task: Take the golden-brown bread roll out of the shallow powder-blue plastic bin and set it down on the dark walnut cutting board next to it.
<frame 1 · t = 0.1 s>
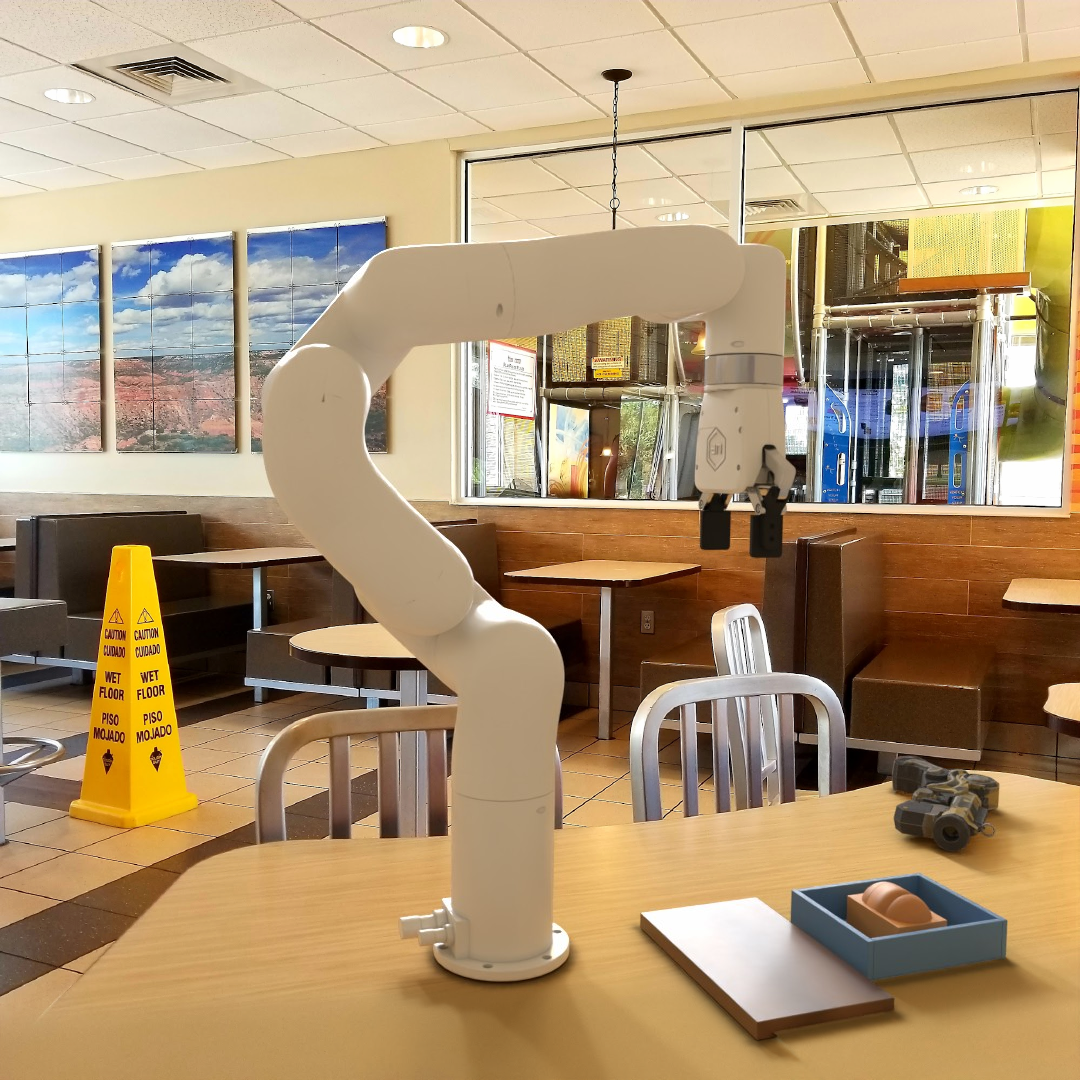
hand: (739, 553, 105), 37 cm above the table, tool pointing down, fingers open, 9 cm apart
bread: (894, 940, 102), resting on bin
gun: (938, 819, 140), on the table
bin: (894, 945, 102), on the table
board: (756, 967, 97), on the table
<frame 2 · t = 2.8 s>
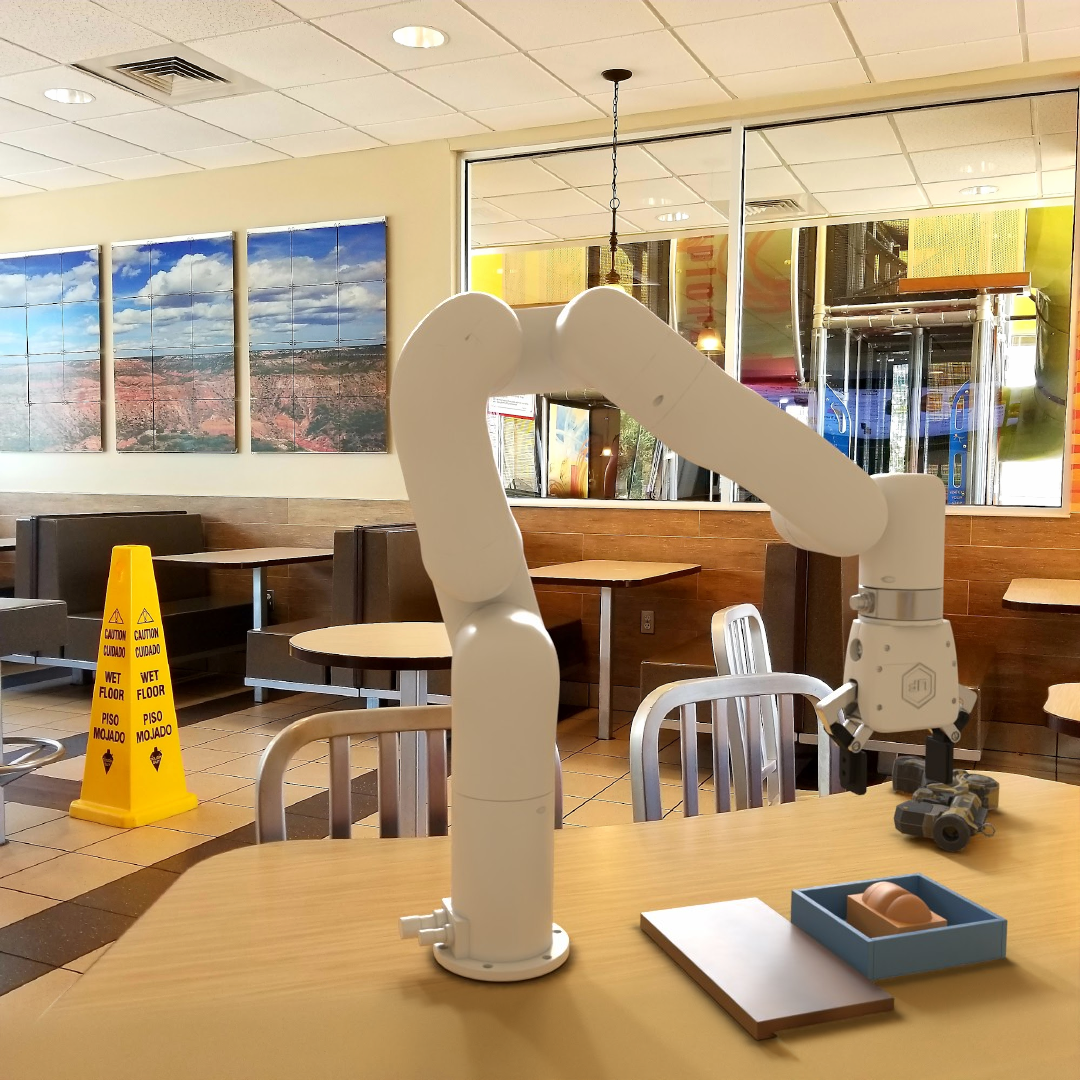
hand: (896, 785, 101), 15 cm above the table, tool pointing down, fingers open, 9 cm apart
nothing on the table moved.
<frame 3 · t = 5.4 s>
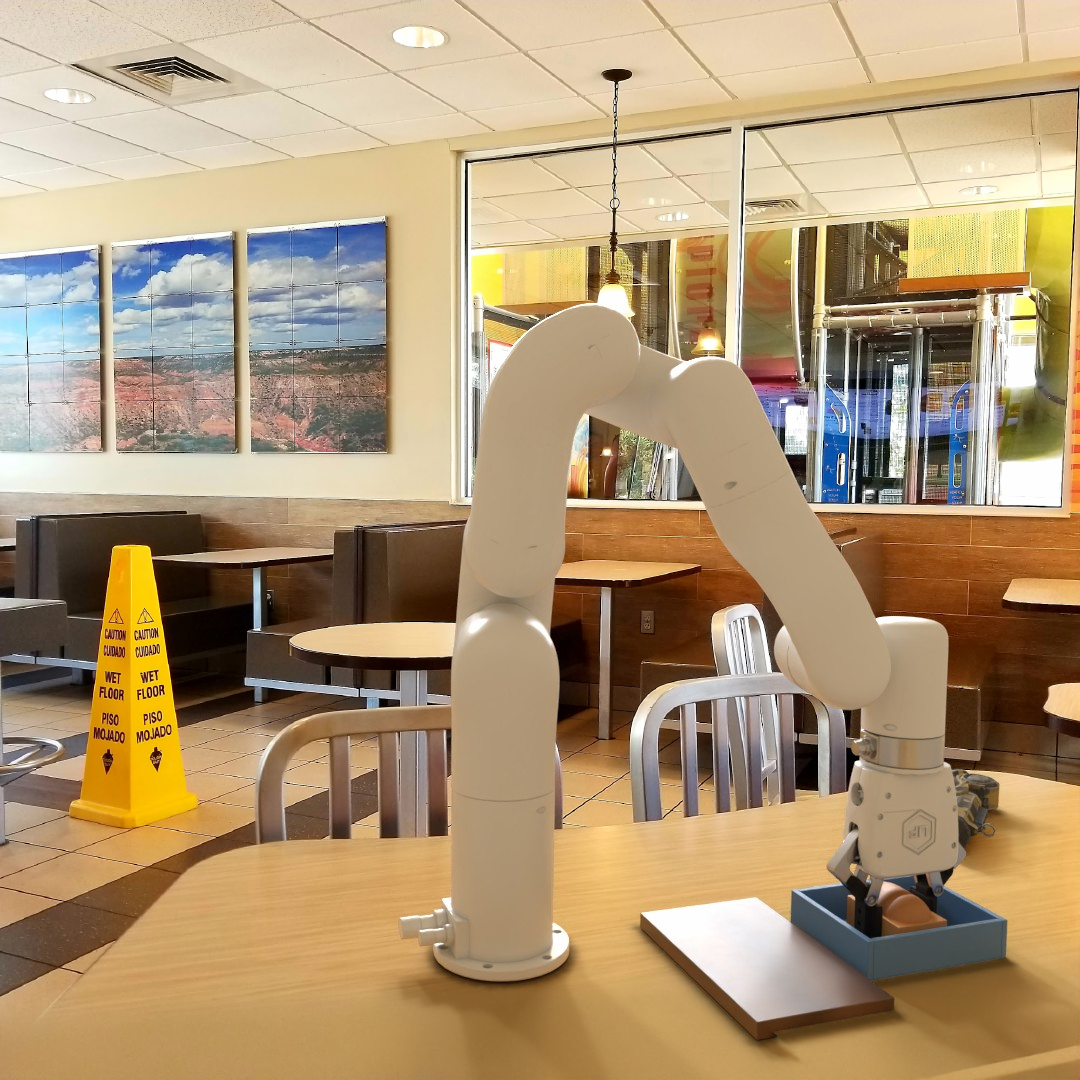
hand: (895, 935, 102), 1 cm above the table, tool pointing down, fingers closed on bread, 5 cm apart
bread: (894, 940, 102), resting on bin, touching gripper
everything else where it was.
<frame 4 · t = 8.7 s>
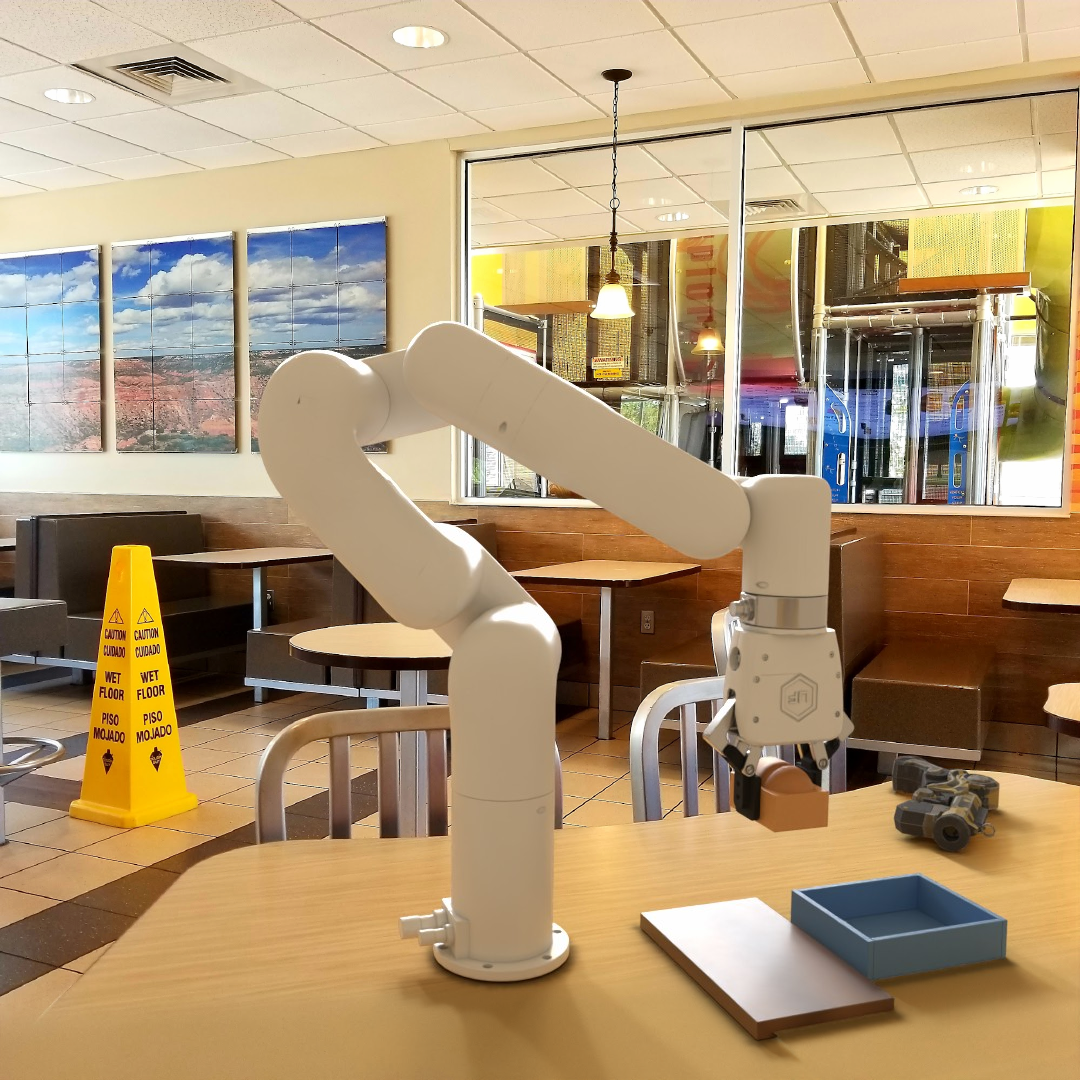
hand: (777, 810, 97), 14 cm above the table, tool pointing down, fingers closed on bread, 5 cm apart
bread: (777, 815, 97), point 14 cm above the table, touching gripper
everything else where it was.
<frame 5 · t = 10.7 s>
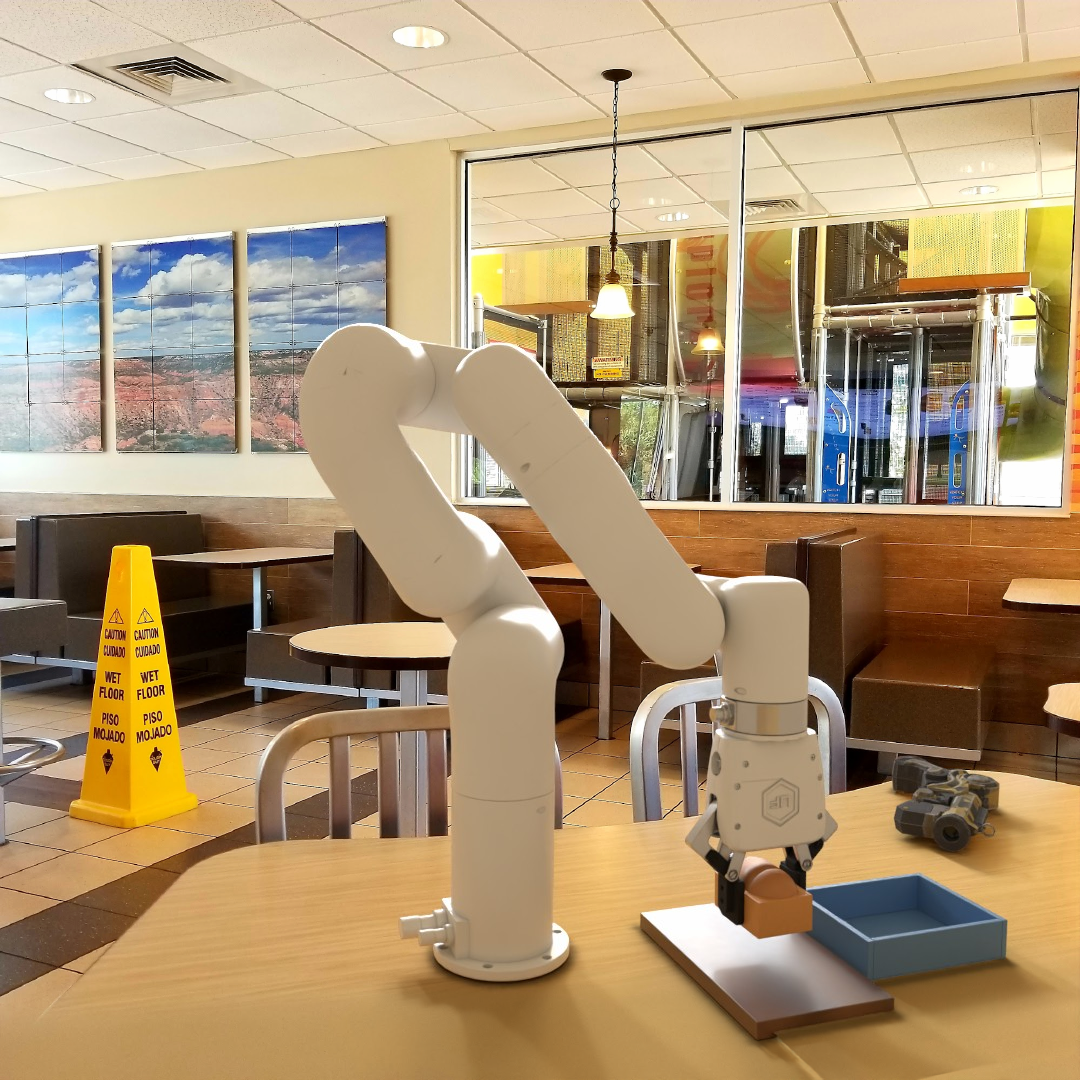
hand: (762, 912, 97), 5 cm above the table, tool pointing down, fingers closed on bread, 5 cm apart
bread: (762, 917, 97), point 5 cm above the table, touching gripper
everything else where it was.
when the fingers open (2 cm above the table, at t = 12.0 s): bread stays where it is, resting on board.
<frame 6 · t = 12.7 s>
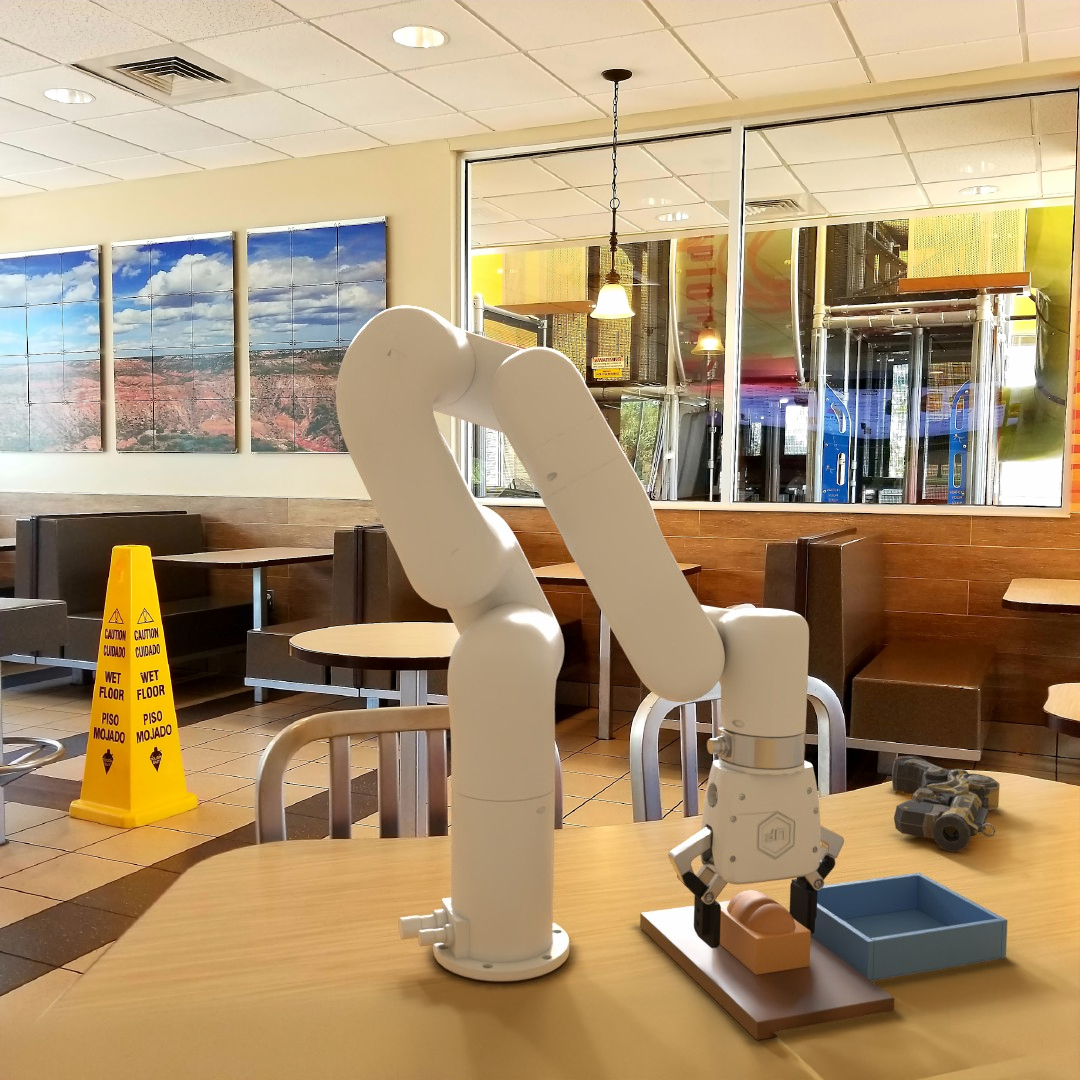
hand: (755, 934, 97), 3 cm above the table, tool pointing down, fingers open, 9 cm apart
bread: (759, 951, 97), point 1 cm above the table, touching board
everything else where it was.
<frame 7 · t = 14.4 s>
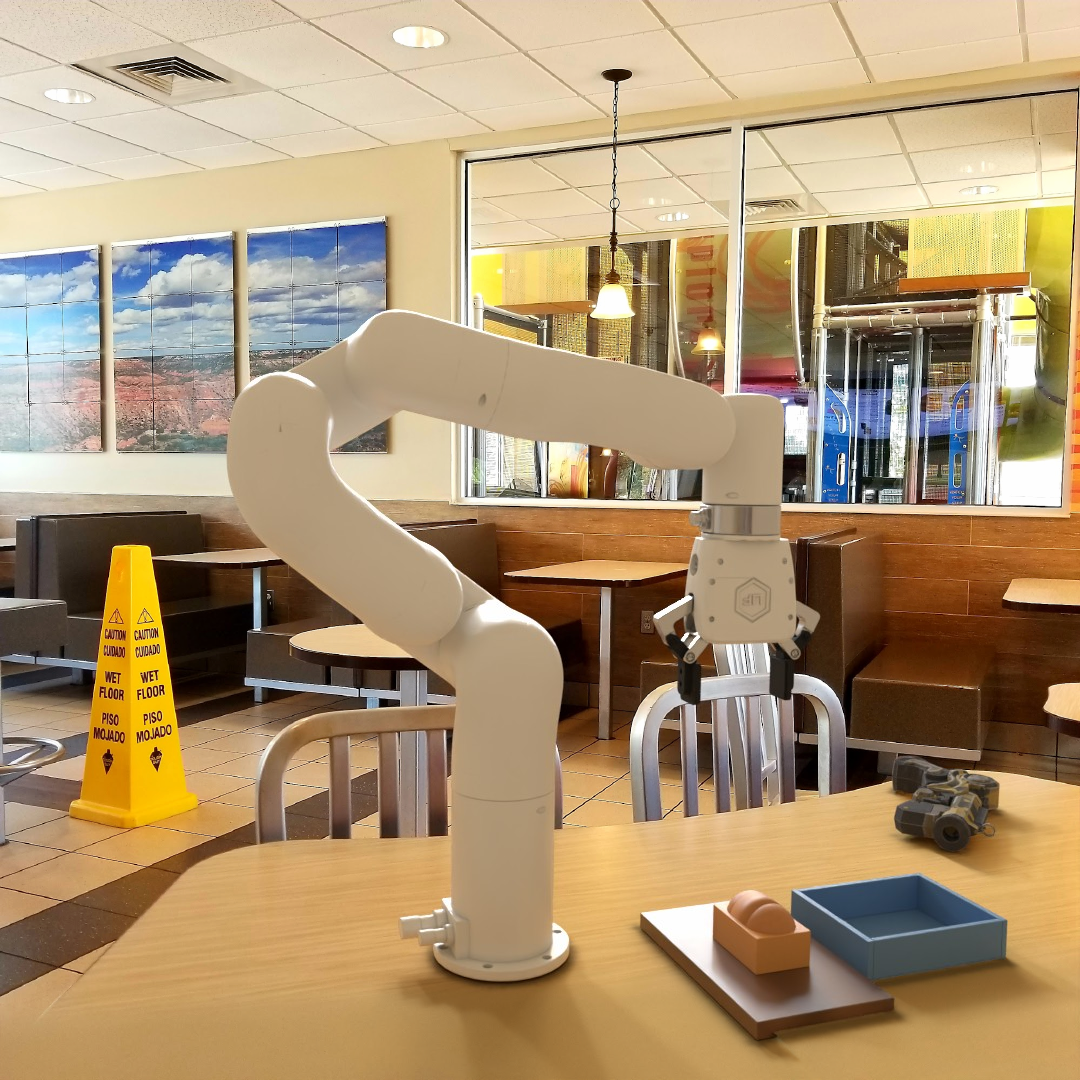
hand: (735, 699, 104), 23 cm above the table, tool pointing down, fingers open, 9 cm apart
nothing on the table moved.
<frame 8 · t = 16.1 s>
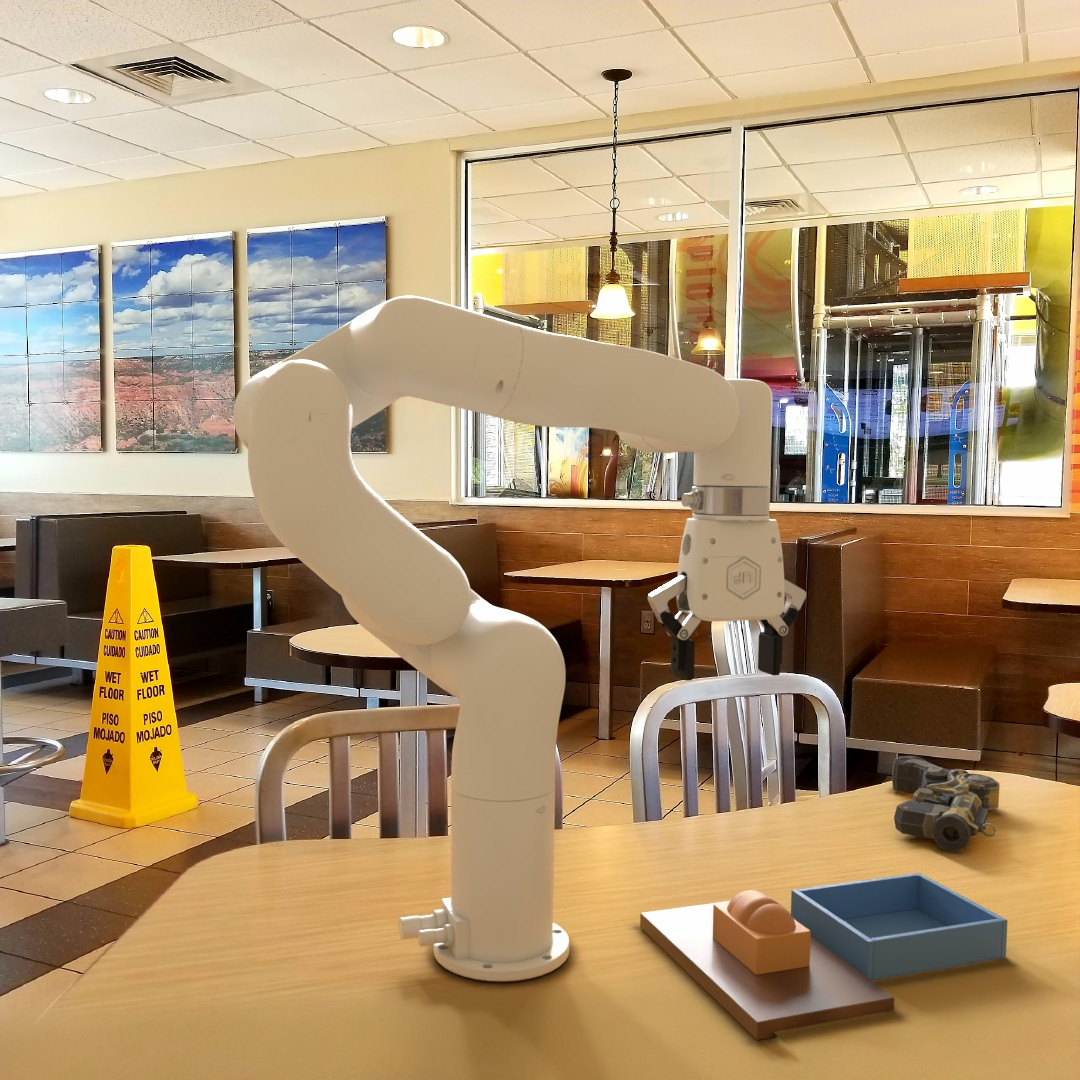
hand: (726, 675, 108), 24 cm above the table, tool pointing down, fingers open, 9 cm apart
nothing on the table moved.
at the end: bread inside the target area on the board (0.2 cm from its centre), point 1.5 cm above the board's base; bread touching board; the gripper is holding nothing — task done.
